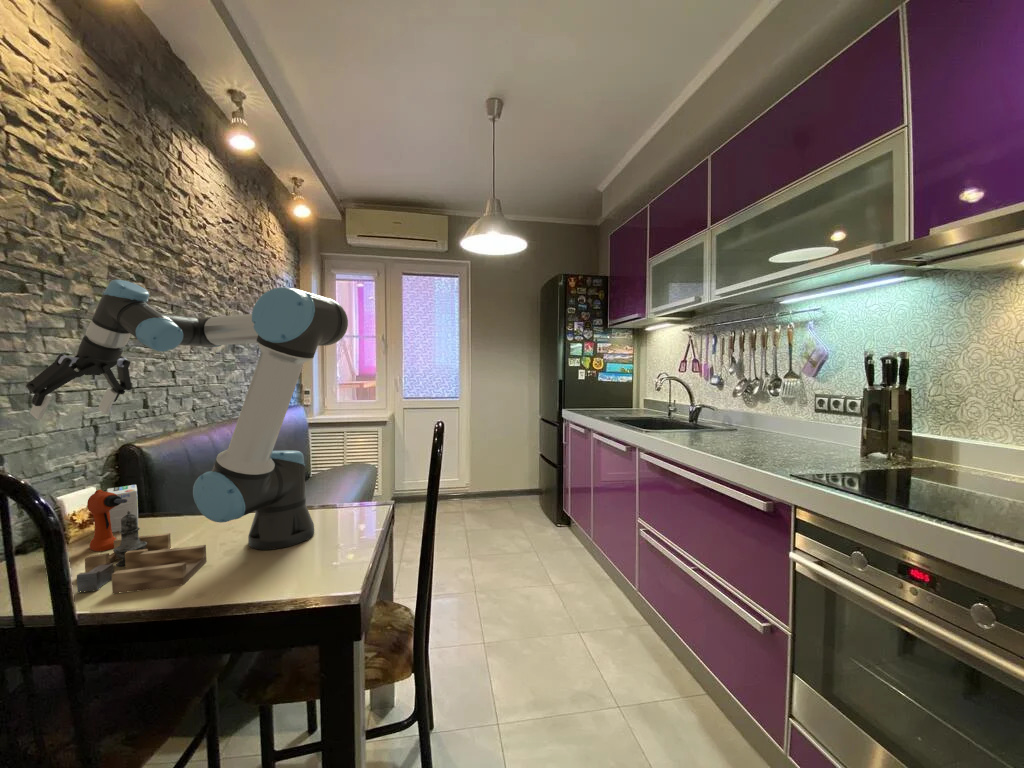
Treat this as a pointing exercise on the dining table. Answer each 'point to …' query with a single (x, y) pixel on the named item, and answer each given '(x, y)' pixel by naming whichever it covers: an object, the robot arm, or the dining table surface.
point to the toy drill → (103, 518)
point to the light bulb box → (123, 505)
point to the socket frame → (130, 552)
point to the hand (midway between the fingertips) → (71, 413)
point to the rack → (161, 569)
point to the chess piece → (128, 538)
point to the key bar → (95, 578)
